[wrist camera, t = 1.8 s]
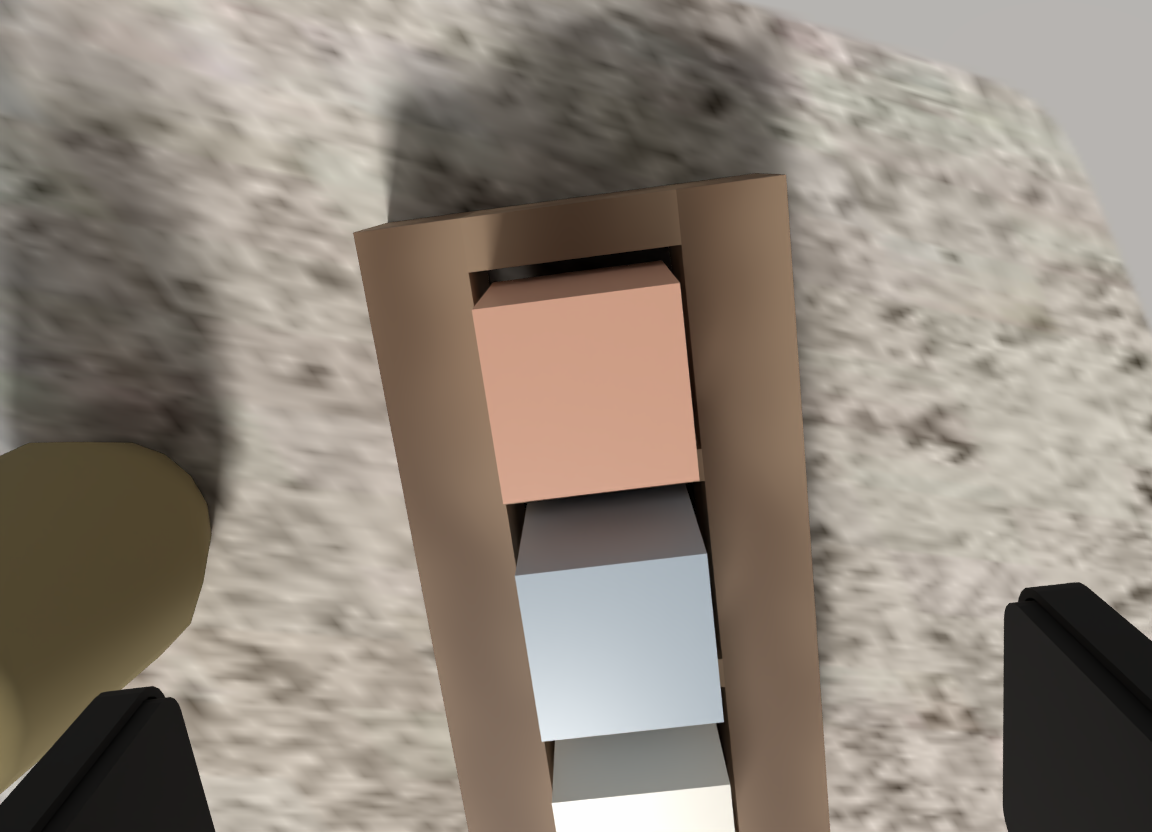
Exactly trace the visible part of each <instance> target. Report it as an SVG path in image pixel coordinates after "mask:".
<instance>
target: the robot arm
mask: <svg viewBox="0 0 1152 832" xmlns="http://www.w3.org/2000/svg"><path fill="white" fill-rule="evenodd" d="M1003 812H1004V817H1005V822H1006V825H1007V829H1008V832H1152V641H1151V640H1150V639H1149V638H1147V637H1146V636H1145V635H1144V634H1143V633H1141V632H1140V631H1139V630H1138V629H1137V628H1135V627H1134V626H1133V625H1132V624H1131V623H1130V622H1128V621H1127V620H1126V619H1125V618H1124V617H1122V616H1121V615H1120V614H1119V613H1118V612H1116V611H1115V610H1114V609H1113V608H1112V607H1110V606H1109V605H1108V604H1107V603H1106V602H1105V601H1103V600H1102V599H1101V598H1100V597H1099V596H1097V595H1096V594H1095V593H1094V592H1093V591H1091V590H1090V589H1089V588H1088V587H1087V586H1085V585H1083V584H1082V583H1080V582H1078V583H1066V584H1057V585H1048V586H1039V587H1030V588H1025V589H1024V590H1023V591H1022V592H1021V594H1020V596H1019V600H1018V602H1015V603H1009V604H1008V605H1007V606H1006V609H1005V614H1004V708H1003ZM0 832H215V829H214V825H213V822H212V818H211V815H210V811H209V808H208V804H207V801H206V797H205V793H204V790H203V786H202V783H201V779H200V776H199V772H198V769H197V765H196V761H195V758H194V754H193V751H192V747H191V744H190V740H189V737H188V733H187V730H186V726H185V722H184V719H183V715H182V712H181V709H180V706H179V704H178V702H177V701H176V700H175V699H174V698H171V697H168V698H165V696H164V694H163V693H162V692H161V691H160V689H159V688H156V687H154V686H151V687H142V688H133V689H124V690H115V691H107V692H102V693H100V694H99V695H98V696H96V697H95V698H94V699H93V700H92V702H91V703H90V704H89V705H88V706H87V707H86V708H85V709H84V711H83V712H82V713H81V714H80V715H79V716H78V717H77V719H76V720H75V721H74V722H73V723H72V724H71V725H70V726H69V728H68V729H67V730H66V731H65V732H64V733H63V734H62V736H61V737H60V738H59V739H58V740H57V741H56V742H55V743H54V745H53V746H52V747H51V748H50V749H49V750H48V751H47V752H46V754H45V755H44V756H43V757H42V758H41V759H40V760H39V762H38V763H37V764H36V765H35V766H34V767H33V768H32V769H31V771H30V772H29V773H28V774H27V775H26V776H25V777H24V779H23V780H22V781H21V782H20V783H19V784H18V785H17V786H16V788H15V789H14V790H13V791H12V792H11V793H10V794H9V796H8V797H7V798H6V799H5V800H4V801H3V802H2V803H1V805H0Z"/></svg>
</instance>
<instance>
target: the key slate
mask: <svg viewBox="0 0 1152 832" xmlns="http://www.w3.org/2000/svg"><path fill="white" fill-rule="evenodd" d="M515 580H516V586H517V592H518V598H519V605H520V611H521V617H522V623H523V629H524V635H525V641H526V648H527V654H528V660H529V666H530V672H531V678H532V685H533V691H534V697H535V703H536V709H537V715H538V722H539V728H540V734H541V740H542V742H544V741H553V740H563V739H572V738H581V737H590V736H600V735H609V734H618V733H627V732H637V731H646V730H655V729H665V728H674V727H683V726H692V725H702V724H711V723H720V722H724V718H723V708H722V698H721V688H720V678H719V668H718V658H717V648H716V638H715V628H714V618H713V608H712V598H711V588H710V578H709V568H708V558H707V552H706V549H705V546H704V542H703V539H702V536H701V533H700V530H699V526H698V523H697V520H696V517H695V514H694V510H693V507H692V504H691V501H690V498H689V495H688V491H687V488H686V485H685V484H679V485H671V486H662V487H654V488H645V489H637V490H629V491H620V492H612V493H604V494H595V495H587V496H579V497H570V498H562V499H554V500H545V501H537V502H528V503H527V508H526V514H525V520H524V525H523V531H522V537H521V543H520V549H519V555H518V560H517V566H516V572H515Z"/></svg>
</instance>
